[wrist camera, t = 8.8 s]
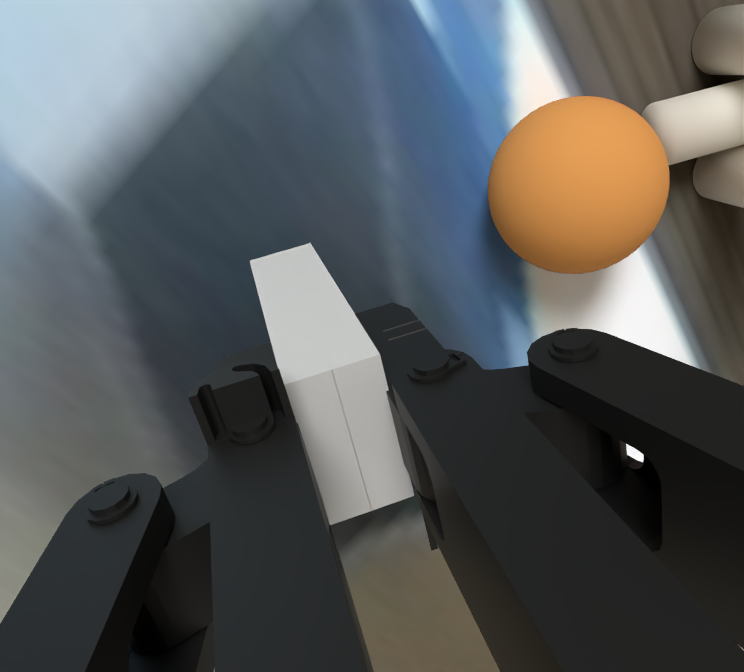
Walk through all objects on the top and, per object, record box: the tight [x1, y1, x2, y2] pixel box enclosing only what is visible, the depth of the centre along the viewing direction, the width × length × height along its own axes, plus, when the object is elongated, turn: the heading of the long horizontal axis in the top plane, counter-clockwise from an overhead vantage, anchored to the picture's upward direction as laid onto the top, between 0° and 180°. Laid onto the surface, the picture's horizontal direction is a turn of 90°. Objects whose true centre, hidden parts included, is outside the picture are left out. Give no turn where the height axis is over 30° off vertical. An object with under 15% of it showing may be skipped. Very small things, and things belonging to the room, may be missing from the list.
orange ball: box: [488, 96, 670, 274], centre depth 22 cm, size 6×6×6 cm
